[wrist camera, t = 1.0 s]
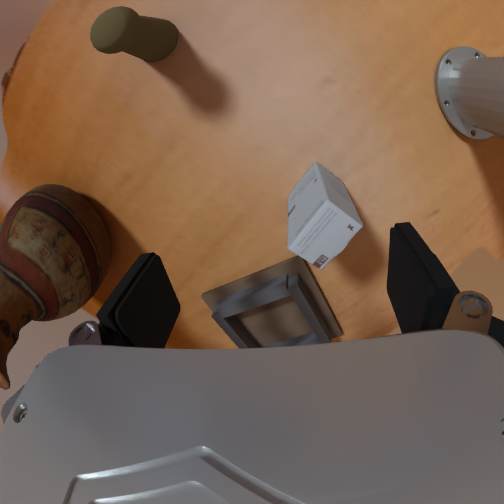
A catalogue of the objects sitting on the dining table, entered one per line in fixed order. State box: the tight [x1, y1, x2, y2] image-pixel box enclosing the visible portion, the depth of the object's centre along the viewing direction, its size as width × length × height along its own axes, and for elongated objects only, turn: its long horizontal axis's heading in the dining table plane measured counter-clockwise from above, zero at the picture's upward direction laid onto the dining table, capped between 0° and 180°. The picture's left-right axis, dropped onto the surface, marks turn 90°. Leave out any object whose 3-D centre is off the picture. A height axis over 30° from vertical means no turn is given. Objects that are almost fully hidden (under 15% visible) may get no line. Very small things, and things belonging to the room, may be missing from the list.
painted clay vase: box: [0, 184, 111, 390], centre depth 30 cm, size 20×20×30 cm
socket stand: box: [201, 256, 342, 349], centre depth 44 cm, size 17×17×4 cm
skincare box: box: [288, 162, 363, 270], centre depth 29 cm, size 6×4×12 cm
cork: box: [90, 6, 178, 62], centre depth 21 cm, size 6×6×11 cm
